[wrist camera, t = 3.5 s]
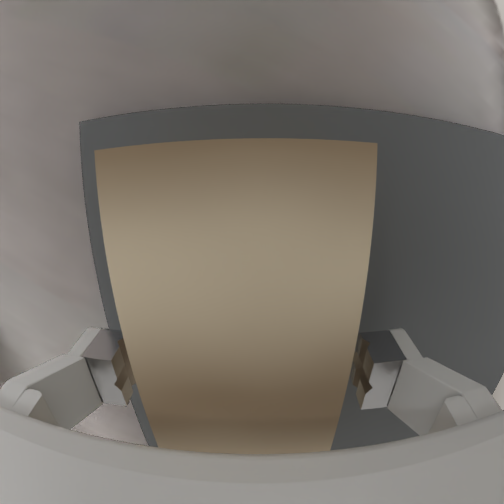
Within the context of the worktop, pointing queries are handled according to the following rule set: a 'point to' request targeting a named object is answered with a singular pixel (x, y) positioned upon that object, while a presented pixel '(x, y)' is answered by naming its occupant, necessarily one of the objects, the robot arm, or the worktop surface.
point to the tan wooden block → (239, 284)
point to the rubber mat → (383, 233)
